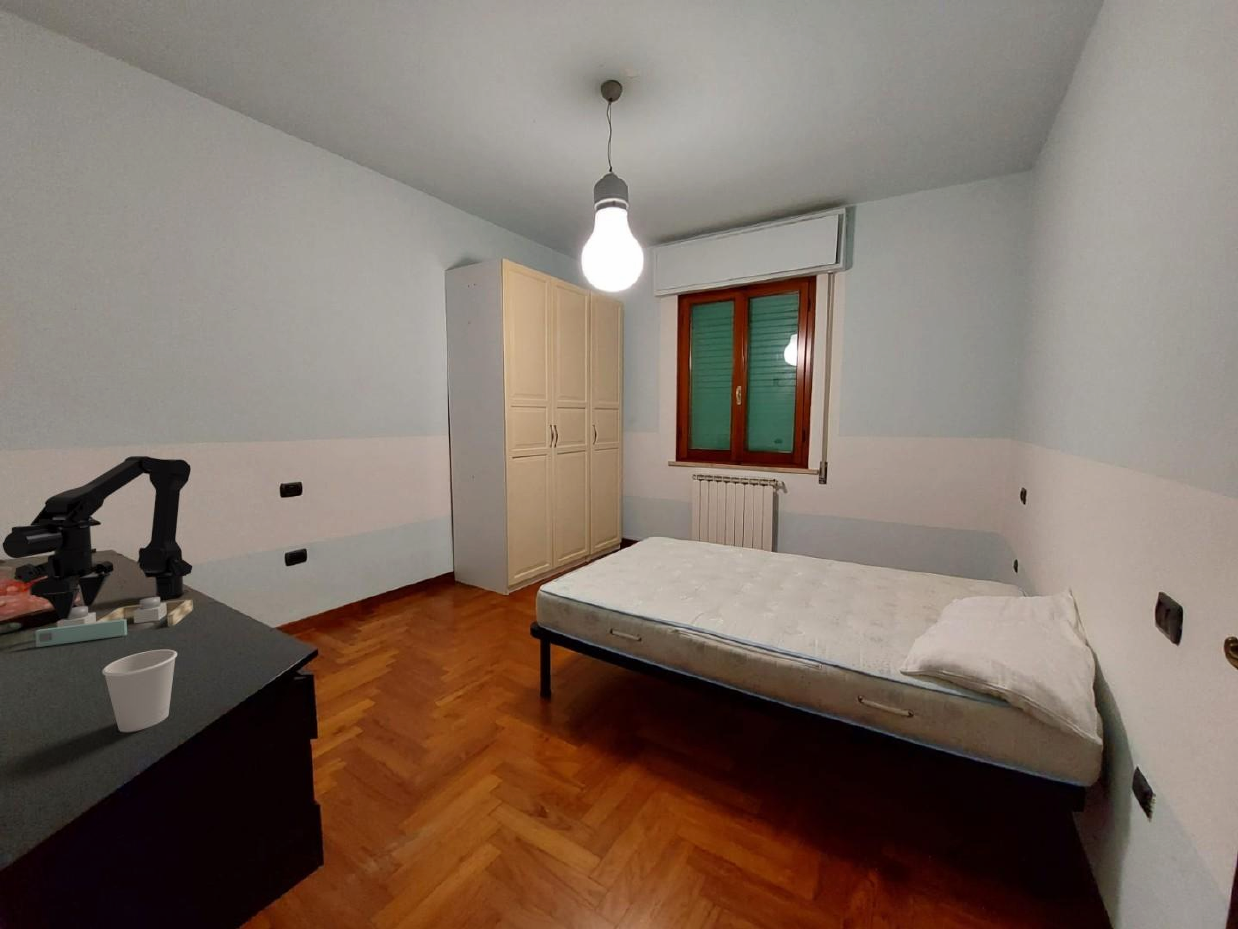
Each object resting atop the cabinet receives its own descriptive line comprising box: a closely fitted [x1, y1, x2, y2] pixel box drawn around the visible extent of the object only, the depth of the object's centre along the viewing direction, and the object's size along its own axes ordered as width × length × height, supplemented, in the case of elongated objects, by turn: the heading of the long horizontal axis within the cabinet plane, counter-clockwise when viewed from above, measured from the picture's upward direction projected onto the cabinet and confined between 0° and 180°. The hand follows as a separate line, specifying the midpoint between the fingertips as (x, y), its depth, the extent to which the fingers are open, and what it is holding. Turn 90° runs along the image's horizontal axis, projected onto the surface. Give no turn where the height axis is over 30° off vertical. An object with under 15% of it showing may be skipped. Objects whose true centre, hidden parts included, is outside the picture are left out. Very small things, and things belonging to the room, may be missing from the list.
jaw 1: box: [56, 605, 97, 627], centre depth 110 cm, size 4×4×5 cm
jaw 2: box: [133, 596, 168, 624], centre depth 116 cm, size 4×4×5 cm
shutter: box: [35, 619, 128, 648], centre depth 103 cm, size 1×14×4 cm, turn 115°
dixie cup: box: [101, 648, 178, 733], centre depth 74 cm, size 8×8×10 cm
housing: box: [95, 598, 194, 632], centre depth 114 cm, size 12×14×3 cm
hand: (77, 612), depth 110 cm, fingers open, 9 cm apart
